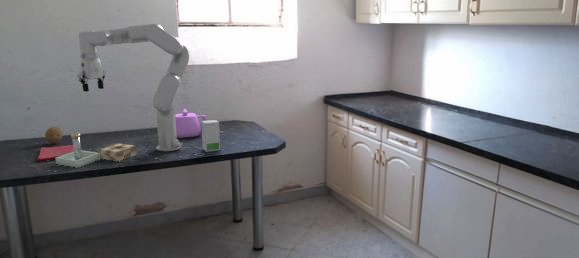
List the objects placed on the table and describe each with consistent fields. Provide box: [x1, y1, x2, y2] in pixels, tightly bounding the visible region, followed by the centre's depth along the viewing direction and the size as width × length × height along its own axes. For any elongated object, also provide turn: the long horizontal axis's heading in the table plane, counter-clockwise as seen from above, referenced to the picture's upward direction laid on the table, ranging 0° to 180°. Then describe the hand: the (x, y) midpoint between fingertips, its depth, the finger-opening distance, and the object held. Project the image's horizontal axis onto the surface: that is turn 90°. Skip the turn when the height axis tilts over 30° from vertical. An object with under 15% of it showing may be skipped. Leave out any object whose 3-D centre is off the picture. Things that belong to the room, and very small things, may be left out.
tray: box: [55, 149, 101, 169], centre depth 214 cm, size 14×14×4 cm
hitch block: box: [99, 143, 137, 162], centre depth 221 cm, size 12×12×5 cm
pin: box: [70, 132, 82, 160], centre depth 212 cm, size 4×4×13 cm
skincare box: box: [200, 119, 221, 153], centre depth 232 cm, size 8×7×16 cm
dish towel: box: [36, 144, 74, 162], centre depth 228 cm, size 17×24×3 cm
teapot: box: [175, 108, 208, 139], centre depth 264 cm, size 23×21×15 cm
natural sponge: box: [44, 126, 64, 145], centre depth 245 cm, size 9×9×10 cm
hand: (93, 90), depth 223 cm, fingers open, 9 cm apart
